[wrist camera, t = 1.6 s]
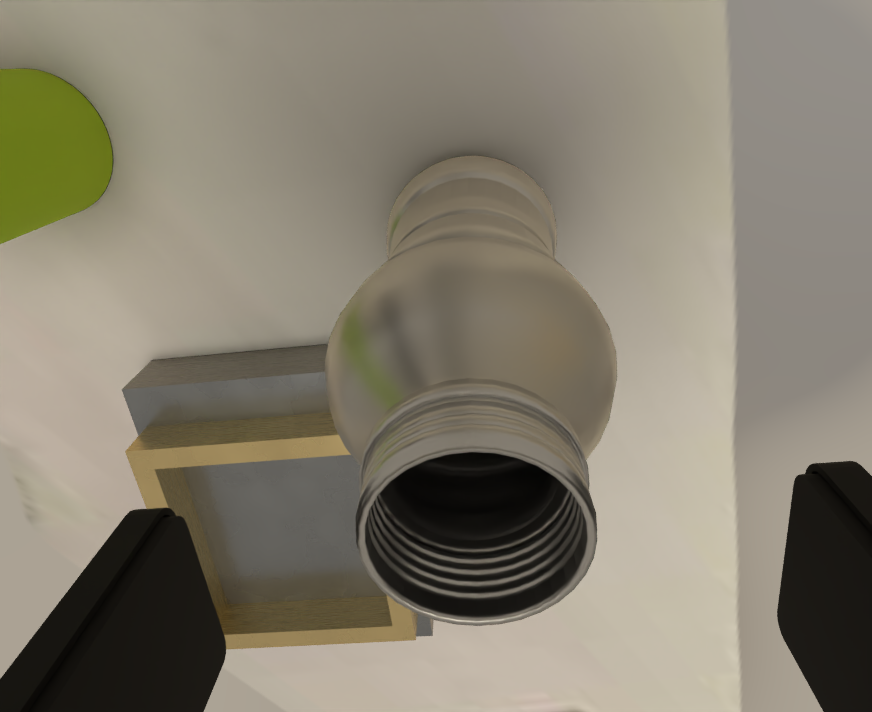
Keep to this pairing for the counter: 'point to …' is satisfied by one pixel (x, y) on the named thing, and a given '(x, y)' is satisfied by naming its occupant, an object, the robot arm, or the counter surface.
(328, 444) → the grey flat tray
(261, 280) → the counter surface
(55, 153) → the soap dispenser
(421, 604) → the plastic bottle
